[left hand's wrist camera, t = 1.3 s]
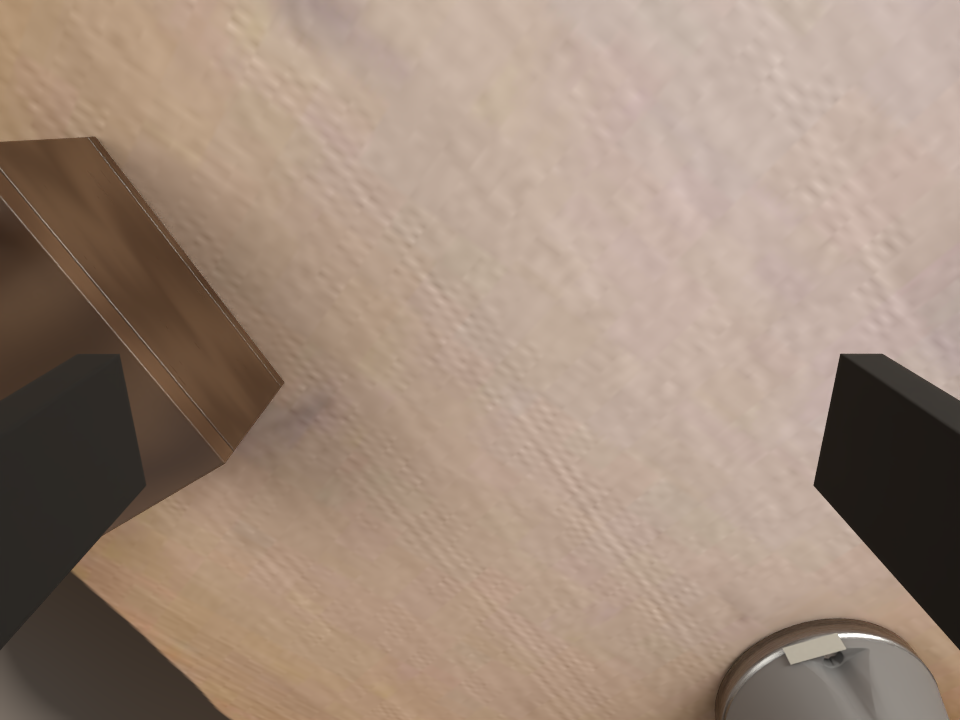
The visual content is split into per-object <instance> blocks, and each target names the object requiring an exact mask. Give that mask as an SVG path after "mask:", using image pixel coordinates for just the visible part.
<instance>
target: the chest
mask: <svg viewBox="0 0 960 720" xmlns="http://www.w3.org/2000/svg"><path fill="white" fill-rule="evenodd" d="M0 171H1V172H2V174H3V175H4V176H5V177H6V178H7V180H8V181H9V182H10V183H11V184H12V186H13V187H14V188H15V189H16V190H17V192H18V193H19V194H20V195H21V196H22V198H23V199H24V200H25V201H26V203H27V204H28V205H29V206H30V207H31V209H32V210H33V211H34V212H35V213H36V215H37V216H38V217H39V218H40V219H41V221H42V222H43V223H44V224H45V225H46V227H47V228H48V229H49V230H50V231H51V233H52V234H53V235H54V236H55V237H56V239H57V240H58V241H59V242H60V243H61V245H62V246H63V247H64V248H65V249H66V251H67V252H68V253H69V254H70V255H71V257H72V258H73V259H74V260H75V262H76V263H77V264H78V265H79V266H80V268H81V269H82V270H83V271H84V272H85V274H86V275H87V276H88V277H89V278H90V280H91V281H92V282H93V283H94V284H95V286H96V287H97V288H98V289H99V290H100V292H101V293H102V294H103V295H104V296H105V298H106V299H107V300H108V301H109V302H110V304H111V305H112V306H113V307H114V308H115V310H116V311H117V312H118V313H119V315H120V316H121V317H122V318H123V319H124V321H125V322H126V323H127V324H128V325H129V327H130V328H131V329H132V330H133V331H134V333H135V334H136V335H137V336H138V337H139V339H140V340H141V341H142V342H143V343H144V345H145V346H146V347H147V348H148V349H149V351H150V352H151V353H152V354H153V355H154V357H155V358H156V359H157V360H158V361H159V363H160V364H161V365H162V366H163V367H164V369H165V370H166V371H167V372H168V374H169V375H170V376H171V377H172V378H173V380H174V381H175V382H176V383H177V384H178V386H179V387H180V388H181V389H182V390H183V392H184V393H185V394H186V395H187V396H188V398H189V399H190V400H191V401H192V402H193V404H194V405H195V406H196V407H197V408H198V410H199V411H200V412H201V413H202V414H203V416H204V417H205V418H206V419H207V420H208V422H209V423H210V424H211V425H212V427H213V428H214V429H215V430H216V431H217V433H218V434H219V435H220V436H221V437H222V439H223V440H224V441H225V442H226V443H227V445H228V446H229V447H230V448H231V449H232V451H234V450H235V449H236V447H237V446H238V445H239V443H240V442H241V441H242V439H243V438H244V437H245V435H246V434H247V432H248V431H249V430H250V428H251V427H252V426H253V424H254V423H255V422H256V420H257V419H258V418H259V416H260V415H261V414H262V412H263V411H264V409H265V408H266V407H267V405H268V404H269V403H270V401H271V400H272V399H273V397H274V396H275V395H276V393H277V392H278V391H279V389H280V388H281V387H282V385H283V384H284V381H283V380H282V379H281V377H280V376H279V375H278V374H277V372H276V371H275V370H274V368H273V367H272V366H271V365H270V363H269V362H268V361H267V359H266V358H265V357H264V355H263V354H262V353H261V352H260V350H259V349H258V348H257V346H256V345H255V344H254V342H253V341H252V340H251V339H250V337H249V336H248V335H247V333H246V332H245V331H244V329H243V328H242V327H241V326H240V324H239V323H238V322H237V320H236V319H235V318H234V316H233V315H232V314H231V313H230V311H229V310H228V309H227V307H226V306H225V305H224V303H223V302H222V301H221V300H220V298H219V297H218V296H217V294H216V293H215V292H214V290H213V289H212V288H211V287H210V285H209V284H208V283H207V281H206V280H205V279H204V277H203V276H202V275H201V274H200V272H199V271H198V270H197V268H196V267H195V266H194V264H193V263H192V262H191V261H190V259H189V258H188V257H187V255H186V254H185V253H184V251H183V250H182V249H181V248H180V246H179V245H178V244H177V242H176V241H175V240H174V239H173V237H172V236H171V235H170V233H169V232H168V231H167V229H166V228H165V227H164V226H163V224H162V223H161V222H160V220H159V219H158V218H157V216H156V215H155V214H154V213H153V211H152V210H151V209H150V207H149V206H148V205H147V203H146V202H145V201H144V200H143V198H142V197H141V196H140V194H139V193H138V192H137V190H136V189H135V188H134V187H133V185H132V184H131V183H130V181H129V180H128V179H127V177H126V176H125V175H124V174H123V172H122V171H121V170H120V168H119V167H118V166H117V164H116V163H115V162H114V161H113V159H112V158H111V157H110V155H109V154H108V153H107V151H106V150H105V149H104V148H103V146H102V145H101V144H100V142H99V141H98V140H97V138H96V137H82V138H63V139H45V140H26V141H8V142H0Z"/></svg>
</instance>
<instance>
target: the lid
mask: <svg viewBox="0 0 960 720" xmlns="http://www.w3.org/2000/svg"><path fill="white" fill-rule="evenodd" d="M77 354H120V358H121V363H122V368H123V373H124V378H125V382H126V387H127V392H128V397H129V402H130V407H131V412H132V417H133V422H134V427H135V432H136V436H137V441H138V446H139V451H140V456H141V461H142V466H143V471H144V476H145V481H146V487H145V488H144V489H143V490H142V491H141V492H140V493H139V494H138V496H137V497H136V498H135V499H134V500H133V501H132V502H131V503H130V505H129V506H128V507H127V508H126V509H125V510H124V511H123V512H122V514H121V515H120V516H119V517H118V518H117V519H116V520H115V521H114V523H113V524H112V525H111V526H110V527H109V528H108V529H107V530H106V532H105V533H104V534H106V533H108V532H109V531H111V530H113V529H114V528H116V527H118V526H120V525H121V524H123V523H125V522H126V521H128V520H130V519H131V518H133V517H135V516H137V515H138V514H140V513H142V512H143V511H145V510H147V509H148V508H150V507H152V506H154V505H155V504H157V503H159V502H160V501H162V500H164V499H165V498H167V497H169V496H170V495H172V494H174V493H176V492H177V491H179V490H181V489H182V488H184V487H186V486H187V485H189V484H191V483H193V482H194V481H196V480H198V479H199V478H201V477H203V476H204V475H206V474H208V473H210V472H211V471H213V470H215V469H216V468H218V467H220V466H221V465H223V464H225V462H226V461H227V460H228V458H229V457H230V456H231V454H232V453H233V451H232V449H231V448H230V447H229V446H228V445H227V443H226V442H225V441H224V440H223V439H222V437H221V436H220V435H219V434H218V433H217V431H216V430H215V429H214V428H213V427H212V425H211V424H210V423H209V422H208V420H207V419H206V418H205V417H204V416H203V414H202V413H201V412H200V411H199V410H198V408H197V407H196V406H195V405H194V404H193V402H192V401H191V400H190V399H189V398H188V396H187V395H186V394H185V393H184V392H183V390H182V389H181V388H180V387H179V386H178V384H177V383H176V382H175V381H174V380H173V378H172V377H171V376H170V375H169V374H168V372H167V371H166V370H165V369H164V367H163V366H162V365H161V364H160V363H159V361H158V360H157V359H156V358H155V357H154V355H153V354H152V353H151V352H150V351H149V349H148V348H147V347H146V346H145V345H144V343H143V342H142V341H141V340H140V339H139V337H138V336H137V335H136V334H135V333H134V331H133V330H132V329H131V328H130V327H129V325H128V324H127V323H126V322H125V321H124V319H123V318H122V317H121V316H120V315H119V313H118V312H117V311H116V310H115V308H114V307H113V306H112V305H111V304H110V302H109V301H108V300H107V299H106V298H105V296H104V295H103V294H102V293H101V292H100V290H99V289H98V288H97V287H96V286H95V284H94V283H93V282H92V281H91V280H90V278H89V277H88V276H87V275H86V274H85V272H84V271H83V270H82V269H81V268H80V266H79V265H78V264H77V263H76V262H75V260H74V259H73V258H72V257H71V255H70V254H69V253H68V252H67V251H66V249H65V248H64V247H63V246H62V245H61V243H60V242H59V241H58V240H57V239H56V237H55V236H54V235H53V234H52V233H51V231H50V230H49V229H48V228H47V227H46V225H45V224H44V223H43V222H42V221H41V219H40V218H39V217H38V216H37V215H36V213H35V212H34V211H33V210H32V209H31V207H30V206H29V205H28V204H27V203H26V201H25V200H24V199H23V198H22V196H21V195H20V194H19V193H18V192H17V190H16V189H15V188H14V187H13V186H12V184H11V183H10V182H9V181H8V180H7V178H6V177H5V176H4V175H3V174H2V172H1V171H0V401H1V400H2V399H4V398H6V397H7V396H9V395H11V394H12V393H14V392H16V391H17V390H19V389H20V388H22V387H24V386H25V385H27V384H29V383H30V382H32V381H34V380H35V379H37V378H39V377H40V376H42V375H44V374H45V373H47V372H49V371H50V370H52V369H53V368H55V367H57V366H58V365H60V364H62V363H63V362H65V361H67V360H68V359H70V358H72V357H73V356H75V355H77ZM104 534H103V535H104ZM103 535H102V536H103Z"/></svg>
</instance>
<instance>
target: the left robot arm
mask: <svg viewBox="0 0 960 720" xmlns="http://www.w3.org/2000/svg"><path fill="white" fill-rule="evenodd" d="M145 487H146V481H145V476H144V471H143V466H142V461H141V456H140V451H139V446H138V441H137V436H136V432H135V427H134V422H133V417H132V412H131V407H130V402H129V397H128V392H127V387H126V382H125V378H124V373H123V368H122V363H121V358H120V354H77V355H75V356H73V357H72V358H70V359H68V360H67V361H65V362H63V363H62V364H60V365H58V366H57V367H55V368H53V369H52V370H50V371H49V372H47V373H45V374H44V375H42V376H40V377H39V378H37V379H35V380H34V381H32V382H30V383H29V384H27V385H25V386H24V387H22V388H20V389H19V390H17V391H16V392H14V393H12V394H11V395H9V396H7V397H6V398H4V399H2V400H1V401H0V650H1V649H2V648H3V646H4V645H5V644H6V643H7V642H8V641H9V640H10V639H11V637H12V636H13V635H14V634H15V633H16V632H17V631H18V630H19V628H20V627H21V626H22V625H23V624H24V623H25V622H26V620H27V619H28V618H29V617H30V616H31V615H32V614H33V613H34V611H35V610H36V609H37V608H38V607H39V606H40V605H41V604H42V602H43V601H44V600H45V599H46V598H47V597H48V596H49V595H50V593H51V592H52V591H53V590H54V589H55V588H56V587H57V586H58V584H59V583H60V582H61V581H62V580H63V579H64V578H65V576H66V575H67V574H68V573H69V572H70V571H71V570H72V569H73V568H74V566H75V565H76V564H77V563H78V562H79V561H80V560H81V559H82V557H83V556H84V555H85V554H86V553H87V552H88V551H89V550H90V548H91V547H92V546H93V545H94V544H95V543H96V542H97V541H98V539H99V538H100V537H101V536H102V535H103V534H104V533H105V532H106V530H107V529H108V528H109V527H110V526H111V525H112V524H113V523H114V521H115V520H116V519H117V518H118V517H119V516H120V515H121V514H122V512H123V511H124V510H125V509H126V508H127V507H128V506H129V505H130V503H131V502H132V501H133V500H134V499H135V498H136V497H137V496H138V494H139V493H140V492H141V491H142V490H143V489H144V488H145ZM814 487H815V488H816V489H817V490H818V491H819V492H820V493H821V494H822V496H823V497H824V498H825V499H826V500H827V501H828V502H829V503H830V505H831V506H832V507H833V508H834V509H835V510H836V511H837V512H838V514H839V515H840V516H841V517H842V518H843V519H844V520H845V521H846V523H847V524H848V525H849V526H850V527H851V528H852V529H853V530H854V532H855V533H856V534H857V535H858V536H859V537H860V538H861V539H862V541H863V542H864V543H865V544H866V545H867V546H868V547H869V548H870V550H871V551H872V552H873V553H874V554H875V555H876V556H877V557H878V559H879V560H880V561H881V562H882V563H883V564H884V565H885V566H886V568H887V569H888V570H889V571H890V572H891V573H892V574H893V575H894V577H895V578H896V579H897V580H898V581H899V582H900V583H901V584H902V586H903V587H904V588H905V589H906V590H907V591H908V592H909V593H910V595H911V596H912V597H913V598H914V599H915V600H916V601H917V602H918V604H919V605H920V606H921V607H922V608H923V609H924V610H925V611H926V613H927V614H928V615H929V616H930V617H931V618H932V619H933V621H934V622H935V623H936V624H937V625H938V626H939V627H940V628H941V630H942V631H943V632H944V633H945V634H946V635H947V636H948V637H949V639H950V640H951V641H952V642H953V643H954V644H955V645H956V646H957V648H958V649H959V650H960V401H959V400H958V399H956V398H954V397H953V396H951V395H949V394H948V393H946V392H944V391H943V390H941V389H940V388H938V387H936V386H935V385H933V384H931V383H930V382H928V381H926V380H925V379H923V378H921V377H920V376H918V375H916V374H915V373H913V372H911V371H910V370H908V369H907V368H905V367H903V366H902V365H900V364H898V363H897V362H895V361H893V360H892V359H890V358H888V357H887V356H885V355H883V354H840V358H839V363H838V368H837V373H836V378H835V382H834V387H833V392H832V397H831V402H830V407H829V412H828V417H827V422H826V427H825V432H824V436H823V441H822V446H821V451H820V456H819V461H818V466H817V471H816V476H815V481H814Z"/></svg>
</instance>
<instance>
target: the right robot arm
mask: <svg viewBox="0 0 960 720" xmlns="http://www.w3.org/2000/svg"><path fill="white" fill-rule="evenodd" d="M715 718H716V720H949V718H948V715H947V712H946V709H945V706H944V704H943V701H942V698H941V696H940V693H939V690H938V686H937V683H936V681H935V679H934V677H933V675H932V674H931V672H930V671H929V669H928V668H927V667H926V665H925V664H924V663H923V662H922V660H921V659H920V658H919V657H918V655H917V654H916V653H915V652H914V651H913V649H912V648H911V647H910V646H909V645H908V644H907V643H906V642H905V641H904V640H903V639H902V638H900V637H899V636H898V635H896V634H895V633H893V632H891V631H889V630H888V629H886V628H883V627H881V626H878V625H875V624H872V623H869V622H864V621H860V620H852V619H823V620H815V621H810V622H805V623H801V624H797V625H794V626H791V627H788V628H785V629H783V630H781V631H778V632H776V633H774V634H772V635H770V636H768V637H766V638H764V639H763V640H761V641H760V642H758V643H757V644H755V645H754V646H753V647H751V648H750V649H749V650H747V651H746V652H745V653H744V654H743V655H742V656H741V657H740V658H739V659H738V660H737V661H736V662H735V663H734V664H733V666H732V667H731V668H730V669H729V671H728V672H727V674H726V676H725V677H724V679H723V681H722V683H721V685H720V688H719V690H718V693H717V697H716V703H715Z"/></svg>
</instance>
